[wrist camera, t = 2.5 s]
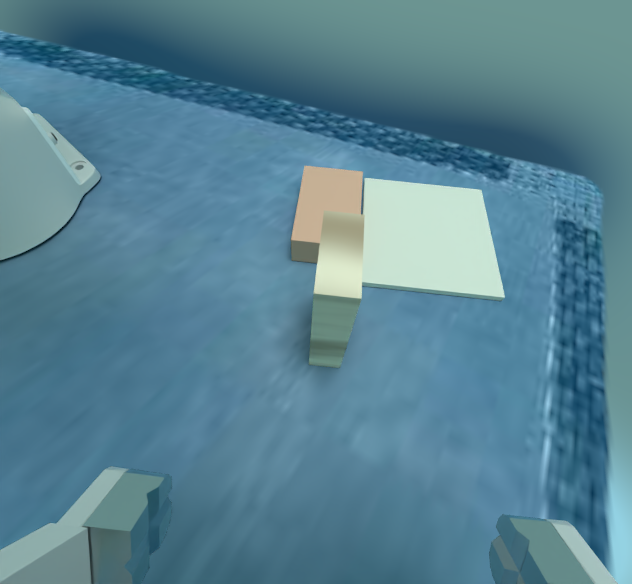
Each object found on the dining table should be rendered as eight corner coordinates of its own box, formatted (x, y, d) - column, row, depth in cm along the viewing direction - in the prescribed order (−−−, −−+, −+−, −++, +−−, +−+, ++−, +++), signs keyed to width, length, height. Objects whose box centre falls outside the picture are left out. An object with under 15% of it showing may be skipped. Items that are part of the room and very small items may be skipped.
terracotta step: (354, 267, 32) (358, 247, 30) (291, 260, 32) (290, 239, 30) (358, 193, 37) (362, 171, 35) (304, 188, 37) (304, 165, 35)
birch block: (339, 368, 27) (361, 298, 18) (308, 364, 27) (313, 293, 18) (344, 303, 30) (364, 214, 21) (316, 299, 30) (323, 210, 21)
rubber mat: (501, 300, 31) (504, 297, 30) (359, 285, 31) (360, 281, 31) (478, 194, 38) (481, 189, 38) (363, 182, 38) (364, 177, 38)
